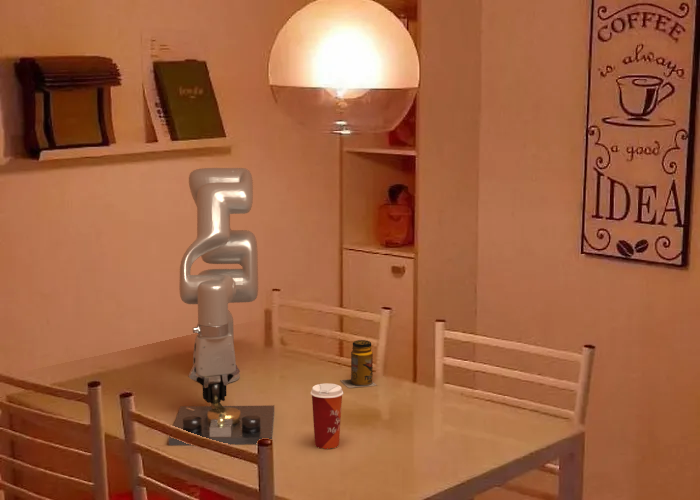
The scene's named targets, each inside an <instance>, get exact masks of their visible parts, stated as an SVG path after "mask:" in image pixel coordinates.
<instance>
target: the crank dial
mask: <svg viewBox="0 0 700 500" xmlns="http://www.w3.org/2000/svg"><path fill="white" fill-rule="evenodd" d="M209 387H210V389H211V402H210V403H209V404H210V406H211V408H212V409H211V410H209V411H208V413H207V414H208V422H209V423H210V424H211V420H212V419H218V417H219V415H220V414H224V415H225V419H233V424H236V423H238V422H239V421H240V410H238V409H236V408H231V407H223V406H224V405H223V404H222V403H221V402H222V400H221V383H220V382H218V381H212V382H209Z"/></svg>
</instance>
